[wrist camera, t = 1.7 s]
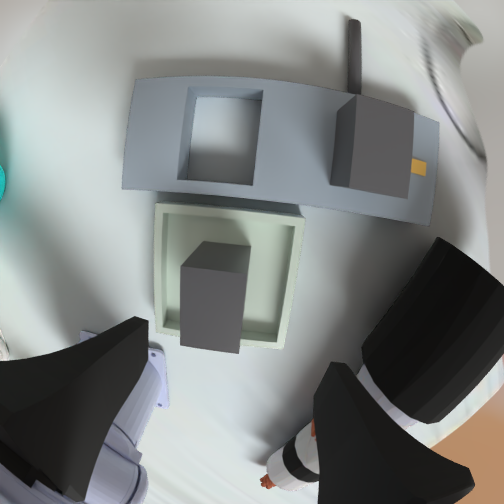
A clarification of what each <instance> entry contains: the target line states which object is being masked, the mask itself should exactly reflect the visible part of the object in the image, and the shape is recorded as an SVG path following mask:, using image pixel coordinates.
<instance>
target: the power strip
mask: <svg viewBox="0 0 504 504" xmlns="http://www.w3.org/2000/svg"><path fill="white" fill-rule="evenodd" d="M361 63H362V61H361V23H360V21H358V20H355V19H351V20H349V71H348V93H346V92H342V91H338V90H333V89H328V88H323V87H318V86H312V85H306V84H300V83H294V82H286V81H279V80H270V79H260V78H248V77H230V76H175V77H158V78H146V79H136V80H135V85H134V91H133V96H132V102H131V107H130V114H129V120H128V127H127V135H126V143H125V152H124V163H123V175H122V189H126V190H148V191H165V192H180V193H194V194H206V195H218V196H228V197H238V198H248V199H257V200H266V201H275V202H283V203H291V204H298V205H306V206H313V207H320V208H327V209H334V210H340V211H347V212H353V213H359V214H365V215H371V216H377V217H382V218H388V219H393V220H398V221H404V222H409V223H414V224H419V225H424V226H430V221H431V215H432V208H433V201H434V194H435V186H436V176H437V165H438V150H439V122H437V121H434V120H432V119H429V118H427V117H424V116H422V115H419V114H416V113H414V111H411V110H409V109H406V108H403V107H400V106H397V105H394V104H391V103H388V102H384V101H381V100H378V99H374V98H371V97H367V96H363V95H361ZM197 97H227V98H243V99H255V100H262V108H261V117H260V126H259V135H258V144H257V153H256V162H255V171H254V180H253V185H245V184H235V183H224V182H212V181H199V180H187V171H188V161H189V152H190V143H191V135H192V127H193V119H194V112H195V105H196V98H197Z"/></svg>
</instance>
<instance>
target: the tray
mask: <svg viewBox="0 0 504 504" xmlns="http://www.w3.org/2000/svg"><path fill="white" fill-rule="evenodd" d="M305 219H306V218H305V217H303V216H302V215H298V214H290V213H282V212H274V211H265V210H256V209H247V208H237V207H228V206H217V205H206V204H195V203H183V202H170V201H162V202H158V203H155V223H154V304H155V324H156V333H161V334H167V335H172V336H178V337H180V266H181V265H182V264H183V263H184V262H185V260H186V259H187V258H188V257H189V256H190V255H191V254H192V253H193V252H194V250H195V249H196V248H197V247H198V246H199V245H200V244H201V243H202V242H203V241H209V242H218V243H227V244H236V245H245V246H251V254H250V263H249V273H248V282H247V291H246V300H245V309H244V317H243V325H242V332H241V340H240V345H241V346H250V347H260V348H271V349H283V348H284V343H285V338H286V333H287V328H288V323H289V317H290V312H291V307H292V301H293V295H294V290H295V284H296V278H297V272H298V266H299V259H300V253H301V247H302V240H303V233H304V226H305Z"/></svg>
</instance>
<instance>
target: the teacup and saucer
mask: <svg viewBox="0 0 504 504" xmlns="http://www.w3.org/2000/svg"><path fill="white" fill-rule="evenodd" d="M0 336H1V339H2V340H1V339H0V358H1V359H2V360H3V361H8V360H9V352H8V349H7V346H6V342H5V339H4V336H3V334H2V332H1V330H0Z"/></svg>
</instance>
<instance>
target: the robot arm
mask: <svg viewBox="0 0 504 504" xmlns="http://www.w3.org/2000/svg"><path fill="white" fill-rule="evenodd" d="M148 324H149V321H148V320H145V319H142V318H139V317H136V316H134V317H132V318H130V319H128V320H126V321H124V322H122V323H120V324H118V325H117V326H115V327H113V328H111V329H109V330H107V331H105V332H103V333H101V334H99V335H97V334H93V333H90V332H86V331H81V332H80V333H79V336H80V341H79V342H78V343H77V344H76V345H74V346H71V347H69V348H66V349H63V350H60V351H56V352H53V353H50V354H46V355H41V356H36V357H32V358H27V359H19V360H10V361H0V504H142V503H143V501H144V499H145V497H146V494H147V490H148V477H147V472H146V469H145V468H144V467H143V466H142V465H140V464H139V462H140V460H141V457H142V453H140V452H139V451H138V450H137V447H138V445H139V442H140V440H141V438H142V435H143V433H144V430H145V428H146V426H147V423H148V421H149V419H150V416H151V414H152V412H153V409H154V407H159V408H164V409H168V408H169V405H170V404H169V396H168V386H167V376H166V364H165V354H164V352H163V351H162V350H159V349H154V348H149V347H148ZM153 353H155V354H156V355H154V354H153ZM313 418H314V426H315V435H316V443H317V451H318V460H319V492H318V504H454V503H456V502H457V501H458V500H460V499H461V498H463V497H464V496H466V495H467V494H468V493H469V492H470V491H472V489H473V488H474V486H475V483H474V480H473V477H472V475H471V472H470V470H469V468H467V467H465V466H462V465H460V464H458V463H455V462H453V461H451V460H449V459H447V458H444V457H443V456H441V455H439V454H437V453H436V452H434V451H432V450H431V449H429V448H428V447H426V446H425V445H423V444H422V443H420V442H419V441H418V440H416V439H415V438H414V437H412V436H411V435H410V434H409V433H407V432H406V431H405V430H404V429H403V428H402V427H401V426H399V425H398V424H397V423H396V422H395V421H394V420H393V419H392V418H391V417H390V416H389V415H388V414H387V413H386V412H385V411H384V410H383V408H382V407H381V406H380V405H379V404H378V403H377V402H376V401H375V399H374V398H373V397H372V396H371V395H370V393H369V392H368V391H367V390H366V388H365V387H364V386H363V385H362V383H361V382H360V381H359V380H358V378H357V377H356V376H355V374H354V373H353V372H352V371H351V369H350V368H349V367H348V366H347V365H346V364H345V363H338V362H331V363H330V365H329V367H328V369H327V371H326V373H325V375H324V377H323V379H322V381H321V383H320V385H319V387H318V389H317V391H316V393H315V395H314V407H313Z"/></svg>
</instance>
